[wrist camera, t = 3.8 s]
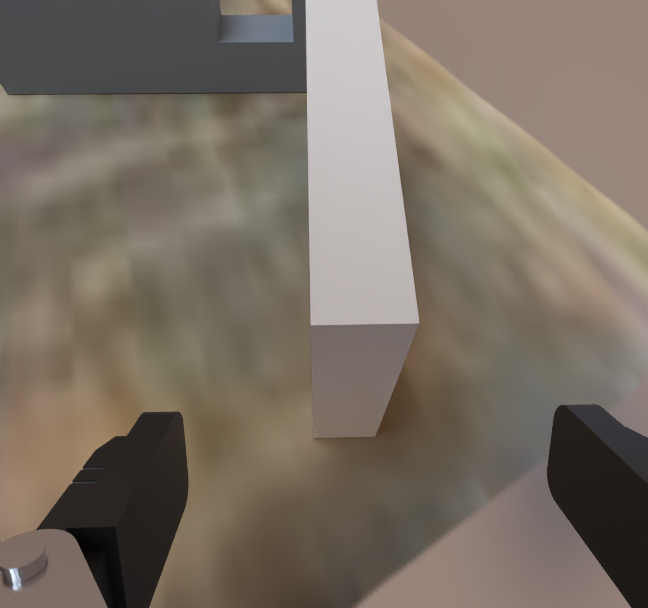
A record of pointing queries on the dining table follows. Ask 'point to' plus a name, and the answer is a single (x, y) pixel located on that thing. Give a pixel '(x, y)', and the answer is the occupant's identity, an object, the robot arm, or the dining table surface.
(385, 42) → the dining table surface
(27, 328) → the dining table surface
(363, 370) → the white slotted plate
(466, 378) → the dining table surface
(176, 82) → the grey slotted plate
